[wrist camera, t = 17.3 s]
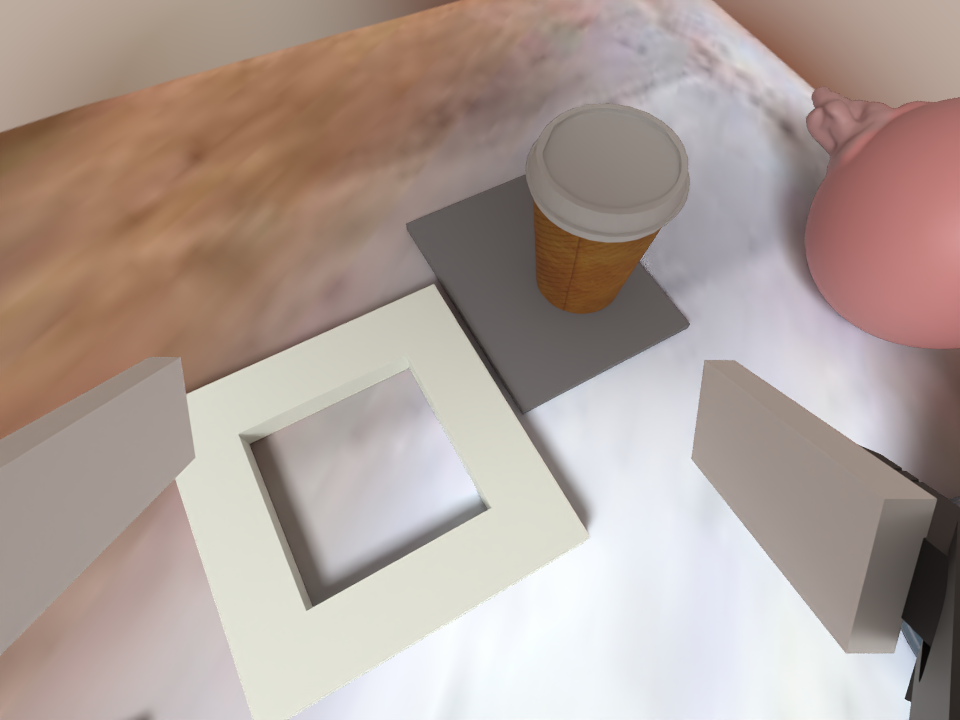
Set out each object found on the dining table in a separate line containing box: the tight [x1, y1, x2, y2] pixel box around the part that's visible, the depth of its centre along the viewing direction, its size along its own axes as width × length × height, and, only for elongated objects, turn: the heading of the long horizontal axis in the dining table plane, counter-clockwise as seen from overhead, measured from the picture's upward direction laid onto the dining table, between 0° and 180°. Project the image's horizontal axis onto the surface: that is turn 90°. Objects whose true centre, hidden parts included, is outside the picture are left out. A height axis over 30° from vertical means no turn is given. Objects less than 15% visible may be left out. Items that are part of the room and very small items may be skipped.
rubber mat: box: [406, 175, 690, 414], centre depth 44 cm, size 18×14×1 cm
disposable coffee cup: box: [526, 103, 690, 314], centre depth 38 cm, size 10×10×12 cm
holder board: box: [175, 284, 590, 720], centre depth 36 cm, size 20×20×2 cm
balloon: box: [805, 87, 960, 349], centre depth 38 cm, size 15×20×15 cm
